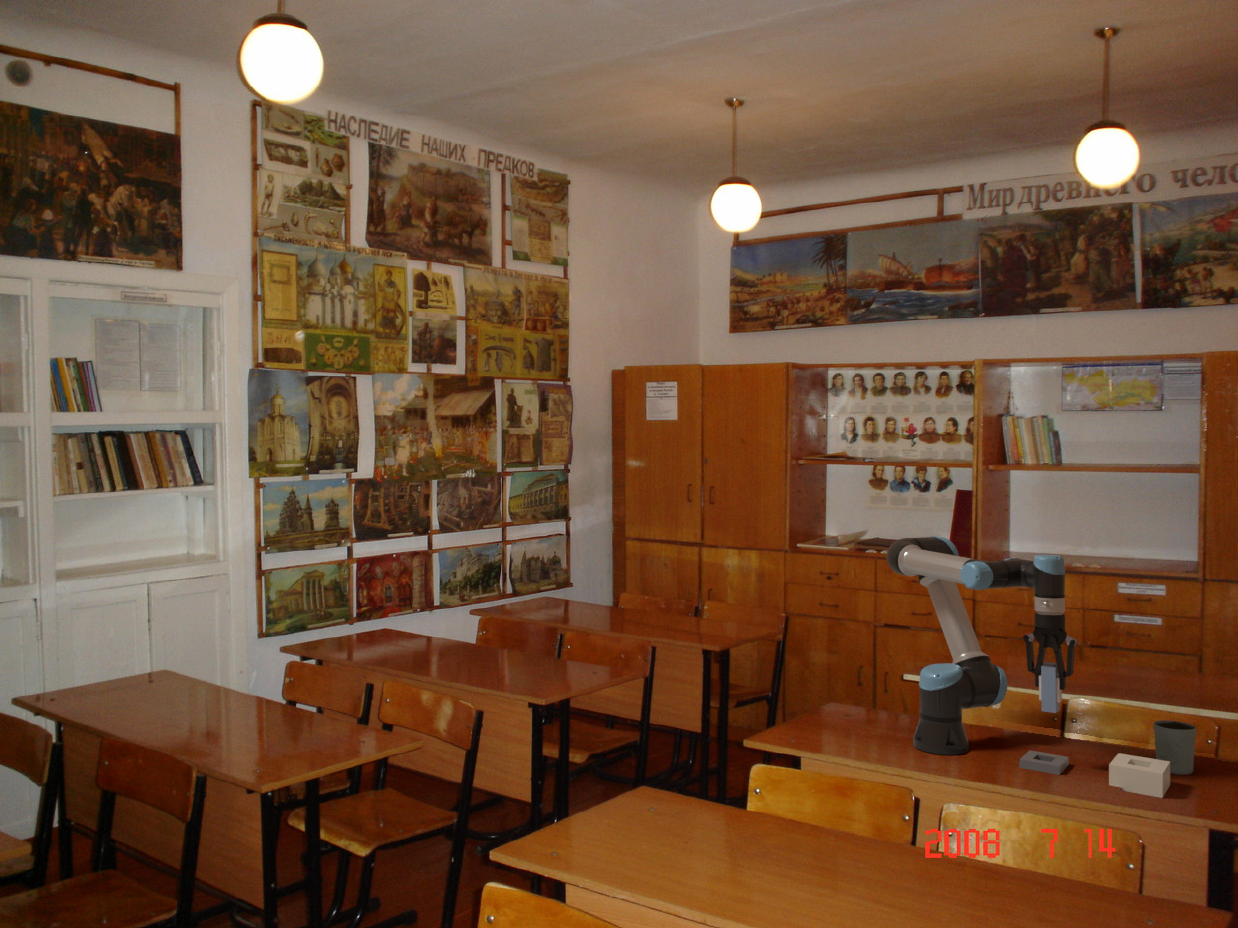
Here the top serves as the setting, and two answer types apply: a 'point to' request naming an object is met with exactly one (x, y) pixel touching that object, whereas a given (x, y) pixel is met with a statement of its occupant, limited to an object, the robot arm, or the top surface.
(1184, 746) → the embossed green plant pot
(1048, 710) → the plug
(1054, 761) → the grey square socket block
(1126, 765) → the port
